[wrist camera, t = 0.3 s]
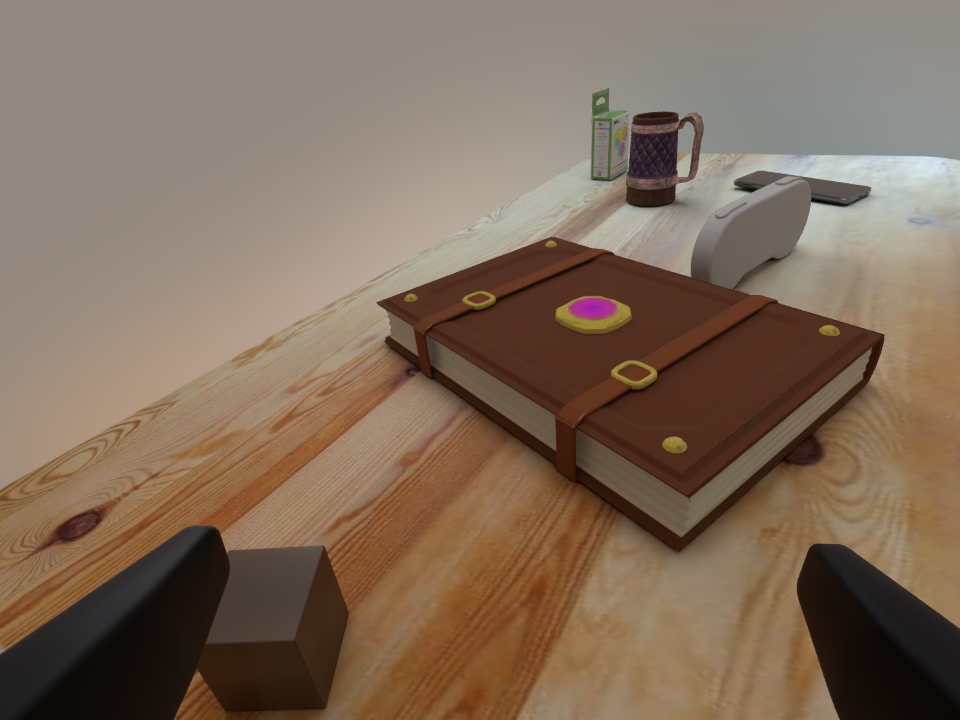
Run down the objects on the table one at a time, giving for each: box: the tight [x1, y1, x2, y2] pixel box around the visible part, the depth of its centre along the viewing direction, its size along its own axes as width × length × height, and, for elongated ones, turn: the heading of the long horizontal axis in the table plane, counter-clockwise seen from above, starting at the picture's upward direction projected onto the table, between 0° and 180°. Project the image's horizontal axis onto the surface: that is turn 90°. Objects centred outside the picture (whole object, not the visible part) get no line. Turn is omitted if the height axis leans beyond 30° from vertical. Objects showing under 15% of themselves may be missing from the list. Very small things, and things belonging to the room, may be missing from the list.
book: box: [376, 237, 884, 551], centre depth 43 cm, size 23×32×5 cm
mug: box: [626, 112, 704, 207], centre depth 76 cm, size 10×7×12 cm
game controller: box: [691, 176, 811, 289], centre depth 54 cm, size 20×2×8 cm, turn 130°
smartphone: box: [734, 171, 871, 204], centre depth 77 cm, size 7×1×16 cm
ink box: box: [591, 89, 629, 180], centre depth 92 cm, size 7×4×13 cm, turn 145°
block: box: [197, 546, 348, 711], centre depth 24 cm, size 4×4×5 cm
